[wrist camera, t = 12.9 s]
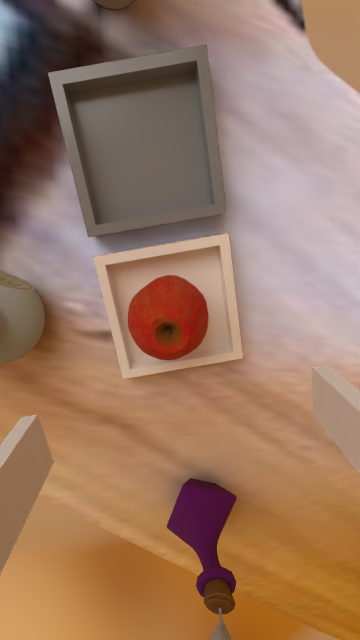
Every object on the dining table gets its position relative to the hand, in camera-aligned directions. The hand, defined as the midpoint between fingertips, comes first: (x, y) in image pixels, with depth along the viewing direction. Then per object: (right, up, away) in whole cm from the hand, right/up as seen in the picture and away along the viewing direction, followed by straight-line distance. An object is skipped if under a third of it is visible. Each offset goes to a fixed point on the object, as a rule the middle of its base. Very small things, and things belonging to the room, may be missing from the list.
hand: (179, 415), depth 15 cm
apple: (-1, +6, +21) cm, 22 cm away
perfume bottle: (+3, -20, +30) cm, 36 cm away
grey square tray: (-4, +21, +17) cm, 28 cm away
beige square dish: (-1, +6, +22) cm, 22 cm away
